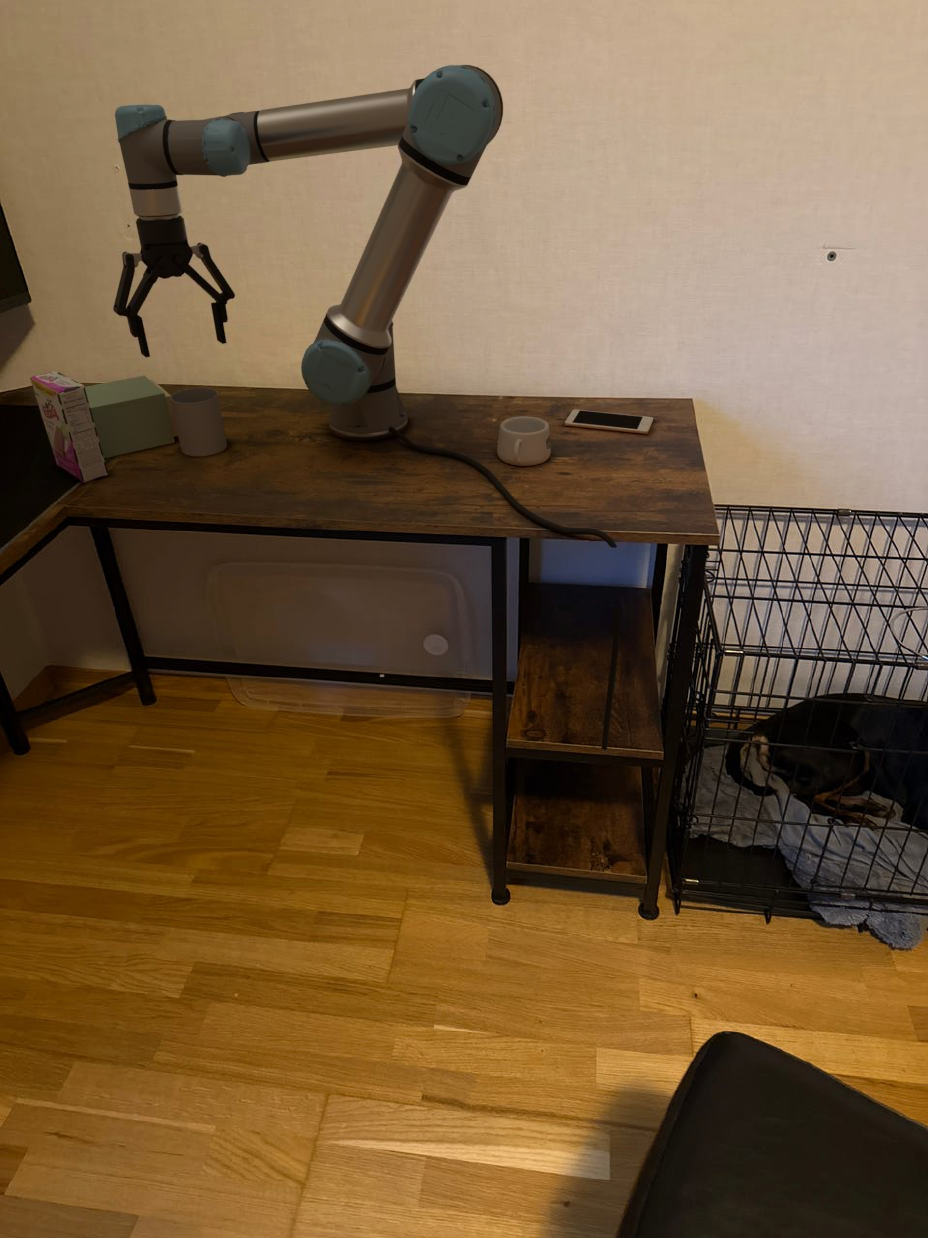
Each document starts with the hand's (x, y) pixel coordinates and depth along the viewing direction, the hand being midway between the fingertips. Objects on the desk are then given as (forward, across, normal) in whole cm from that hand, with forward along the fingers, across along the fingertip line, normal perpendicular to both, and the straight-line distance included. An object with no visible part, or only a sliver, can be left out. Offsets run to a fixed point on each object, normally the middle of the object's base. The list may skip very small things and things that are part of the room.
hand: (184, 348), depth 151 cm
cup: (+19, 0, 0) cm, 19 cm away
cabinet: (+18, +11, -12) cm, 24 cm away
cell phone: (+18, -69, +35) cm, 80 cm away
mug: (+18, -45, +39) cm, 62 cm away
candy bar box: (+19, +22, -2) cm, 29 cm away
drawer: (+17, +7, -12) cm, 22 cm away
